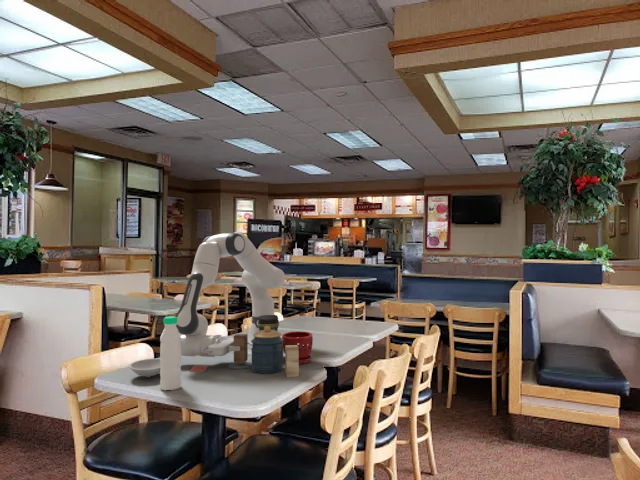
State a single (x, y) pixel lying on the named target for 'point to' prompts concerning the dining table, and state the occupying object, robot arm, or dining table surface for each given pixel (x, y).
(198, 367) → the menu card
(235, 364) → the slate coaster
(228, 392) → the dining table surface
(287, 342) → the plant pot
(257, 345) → the canister
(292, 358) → the maple block
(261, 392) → the dining table surface
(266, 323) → the coffee jar
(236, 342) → the walnut block
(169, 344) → the water bottle
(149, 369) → the dish
